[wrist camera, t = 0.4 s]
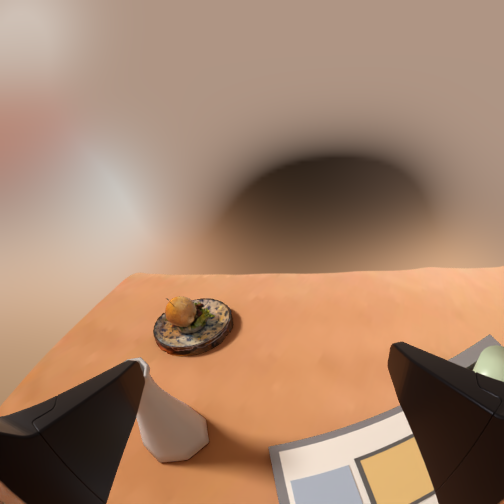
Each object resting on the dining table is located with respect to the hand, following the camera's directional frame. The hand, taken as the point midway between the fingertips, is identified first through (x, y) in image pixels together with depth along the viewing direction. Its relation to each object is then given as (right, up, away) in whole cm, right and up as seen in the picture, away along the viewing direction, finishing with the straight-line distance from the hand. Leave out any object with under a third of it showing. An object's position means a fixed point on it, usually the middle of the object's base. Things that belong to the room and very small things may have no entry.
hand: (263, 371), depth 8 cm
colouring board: (+9, -15, +5) cm, 18 cm away
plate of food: (-9, -8, +30) cm, 32 cm away
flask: (-8, -14, +13) cm, 21 cm away
